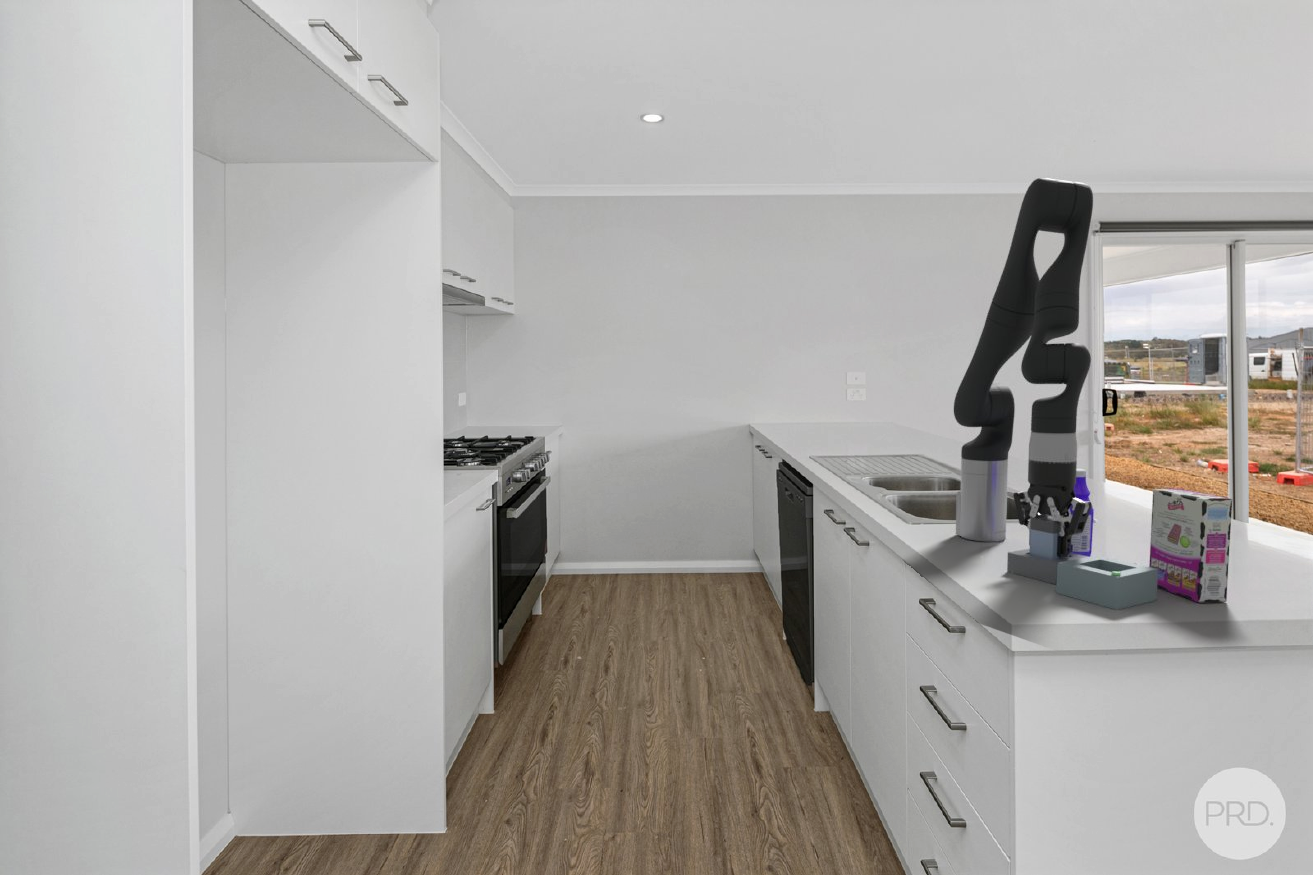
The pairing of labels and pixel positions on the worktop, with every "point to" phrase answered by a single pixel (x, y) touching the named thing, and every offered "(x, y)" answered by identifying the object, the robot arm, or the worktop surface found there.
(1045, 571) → the holster
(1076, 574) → the port
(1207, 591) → the candy bar box
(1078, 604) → the worktop surface
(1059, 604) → the worktop surface
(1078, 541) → the bottle
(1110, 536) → the worktop surface
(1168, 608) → the worktop surface
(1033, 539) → the plug
